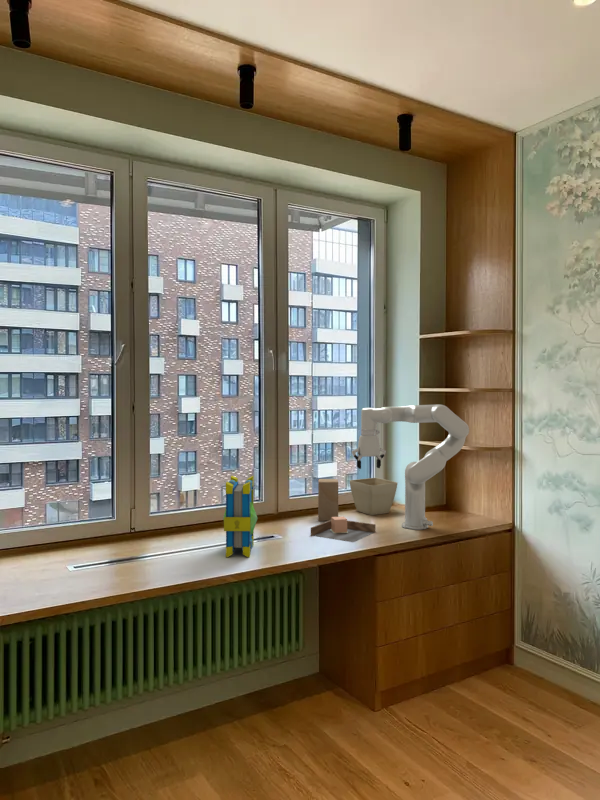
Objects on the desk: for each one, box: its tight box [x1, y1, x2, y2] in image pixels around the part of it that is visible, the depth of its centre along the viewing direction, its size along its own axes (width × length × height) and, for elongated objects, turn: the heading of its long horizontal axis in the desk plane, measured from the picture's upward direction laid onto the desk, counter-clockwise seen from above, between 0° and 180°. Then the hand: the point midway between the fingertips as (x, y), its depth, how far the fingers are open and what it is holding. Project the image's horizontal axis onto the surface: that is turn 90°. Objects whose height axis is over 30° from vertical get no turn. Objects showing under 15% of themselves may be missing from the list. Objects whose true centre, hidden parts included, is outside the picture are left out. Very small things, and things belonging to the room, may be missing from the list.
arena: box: [310, 519, 377, 543], centre depth 283 cm, size 22×22×4 cm
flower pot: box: [349, 477, 398, 516], centre depth 332 cm, size 19×19×17 cm
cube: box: [331, 516, 348, 533], centre depth 288 cm, size 6×6×6 cm
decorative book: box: [222, 475, 259, 558], centre depth 255 cm, size 14×23×30 cm, turn 0°
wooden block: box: [317, 478, 339, 522], centre depth 315 cm, size 10×10×20 cm
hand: (368, 468), depth 300 cm, fingers open, 9 cm apart
